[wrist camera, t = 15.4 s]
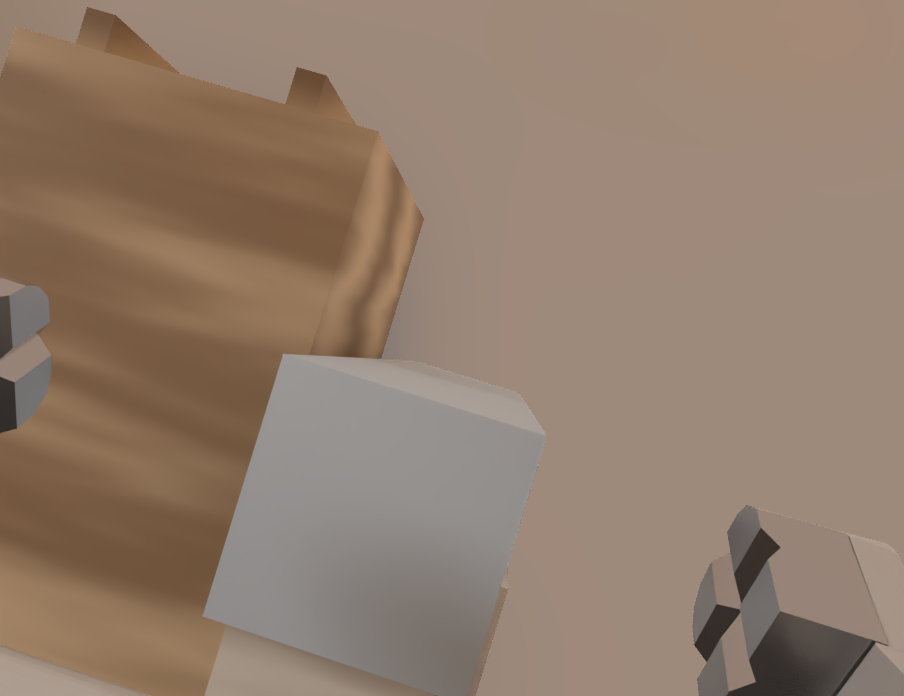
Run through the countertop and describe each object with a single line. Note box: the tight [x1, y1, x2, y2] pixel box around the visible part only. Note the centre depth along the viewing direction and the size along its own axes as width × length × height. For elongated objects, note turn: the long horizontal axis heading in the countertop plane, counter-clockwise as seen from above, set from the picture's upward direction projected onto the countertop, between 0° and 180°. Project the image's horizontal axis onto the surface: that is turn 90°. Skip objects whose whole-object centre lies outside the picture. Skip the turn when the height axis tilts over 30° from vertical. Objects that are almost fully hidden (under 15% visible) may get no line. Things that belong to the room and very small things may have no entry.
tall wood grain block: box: [0, 7, 508, 696], centre depth 26 cm, size 12×16×27 cm
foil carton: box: [203, 354, 547, 696], centre depth 23 cm, size 20×4×4 cm, turn 177°
